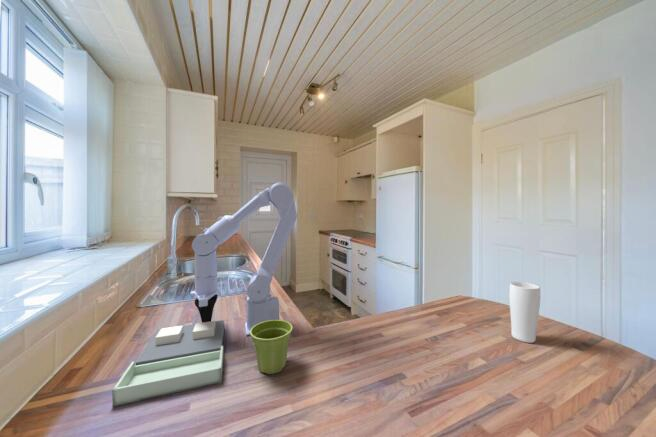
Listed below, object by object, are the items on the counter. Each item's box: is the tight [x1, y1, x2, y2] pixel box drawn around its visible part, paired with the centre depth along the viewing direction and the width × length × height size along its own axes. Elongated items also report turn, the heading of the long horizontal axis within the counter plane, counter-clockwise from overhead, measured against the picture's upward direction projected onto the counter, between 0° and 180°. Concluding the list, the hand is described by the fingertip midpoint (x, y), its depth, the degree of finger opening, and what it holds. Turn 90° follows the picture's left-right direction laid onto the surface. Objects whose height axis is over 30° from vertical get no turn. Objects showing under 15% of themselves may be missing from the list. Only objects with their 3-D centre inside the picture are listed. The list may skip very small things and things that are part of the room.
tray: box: [111, 345, 224, 407], centre depth 52 cm, size 18×9×3 cm, turn 110°
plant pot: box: [249, 319, 293, 375], centre depth 56 cm, size 9×9×9 cm
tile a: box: [193, 320, 217, 339], centre depth 66 cm, size 5×5×2 cm
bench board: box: [135, 319, 225, 366], centre depth 64 cm, size 17×16×2 cm
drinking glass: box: [508, 281, 541, 344], centre depth 68 cm, size 7×7×15 cm
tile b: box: [155, 324, 184, 345], centre depth 63 cm, size 5×5×2 cm
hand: (206, 322), depth 71 cm, fingers closed
